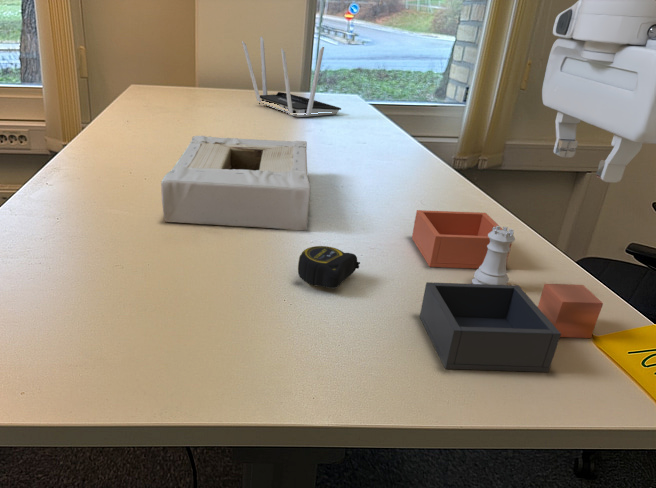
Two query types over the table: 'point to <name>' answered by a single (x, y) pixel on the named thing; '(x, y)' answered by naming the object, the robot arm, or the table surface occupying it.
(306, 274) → the tape measure
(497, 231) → the rook chess piece
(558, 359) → the table surface
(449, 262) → the terracotta bin
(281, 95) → the wireless router
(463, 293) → the charcoal bin
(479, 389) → the table surface
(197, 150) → the box
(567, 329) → the terracotta block
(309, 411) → the table surface
